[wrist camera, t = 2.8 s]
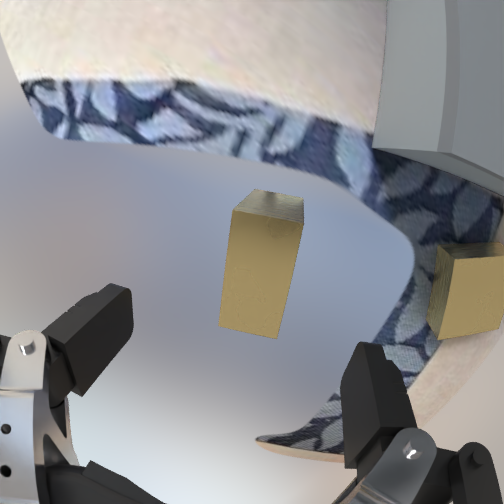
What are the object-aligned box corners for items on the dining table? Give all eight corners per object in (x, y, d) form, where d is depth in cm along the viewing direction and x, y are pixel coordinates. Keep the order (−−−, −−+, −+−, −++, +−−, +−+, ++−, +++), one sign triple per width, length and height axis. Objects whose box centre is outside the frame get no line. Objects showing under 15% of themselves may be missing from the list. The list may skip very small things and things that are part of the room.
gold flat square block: (255, 189, 18) (232, 209, 12) (303, 198, 17) (303, 223, 12) (241, 275, 20) (218, 325, 14) (285, 284, 20) (276, 339, 14)
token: (436, 243, 17) (454, 259, 14) (496, 240, 16) (518, 254, 13) (424, 317, 19) (437, 340, 16) (482, 309, 18) (498, 328, 15)
